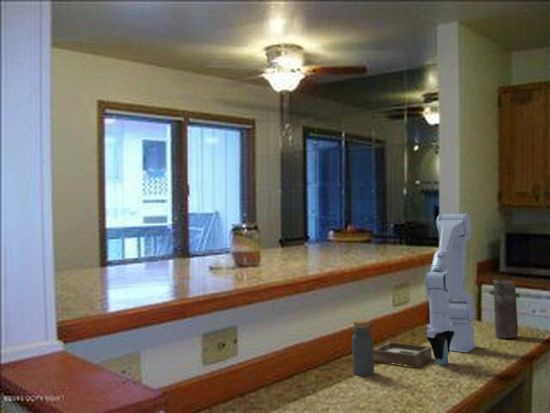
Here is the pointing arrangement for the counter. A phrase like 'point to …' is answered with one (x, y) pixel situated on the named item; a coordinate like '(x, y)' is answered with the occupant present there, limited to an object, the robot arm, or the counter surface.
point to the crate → (401, 354)
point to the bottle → (362, 348)
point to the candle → (505, 309)
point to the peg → (445, 356)
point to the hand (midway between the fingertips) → (441, 357)
